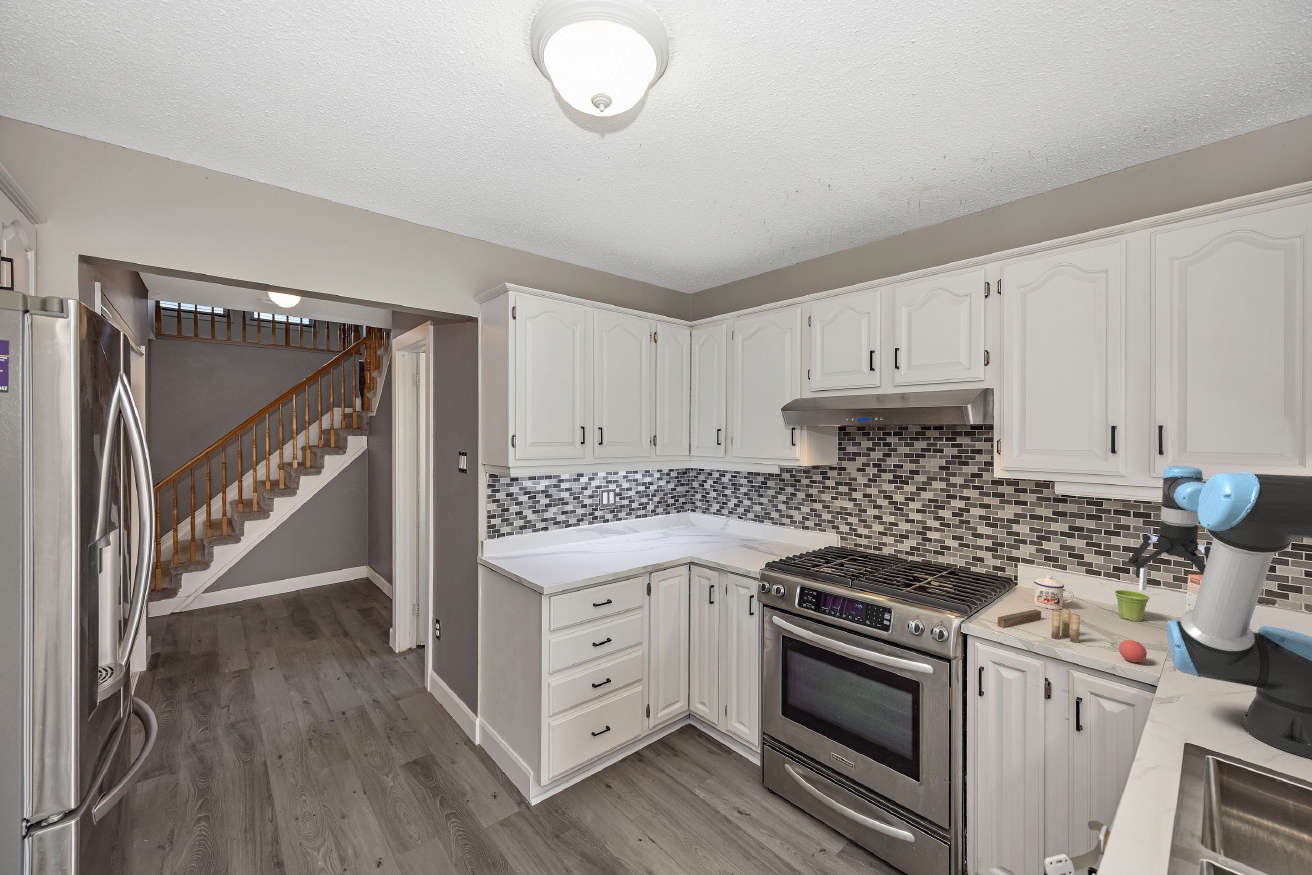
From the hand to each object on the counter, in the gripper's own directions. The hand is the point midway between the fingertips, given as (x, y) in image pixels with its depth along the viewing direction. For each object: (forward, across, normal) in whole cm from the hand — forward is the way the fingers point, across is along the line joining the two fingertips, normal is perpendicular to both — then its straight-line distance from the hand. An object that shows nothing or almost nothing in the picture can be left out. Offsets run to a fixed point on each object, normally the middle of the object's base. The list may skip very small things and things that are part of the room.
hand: (1173, 597), depth 150 cm
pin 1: (+21, +26, +5) cm, 34 cm away
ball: (+18, +7, +4) cm, 19 cm away
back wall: (+22, +39, +1) cm, 45 cm away
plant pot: (+25, +23, -39) cm, 52 cm away
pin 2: (+22, +26, 0) cm, 34 cm away
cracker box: (+24, 0, -37) cm, 44 cm away
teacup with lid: (+25, +42, -27) cm, 56 cm away
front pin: (+21, +22, +3) cm, 31 cm away
